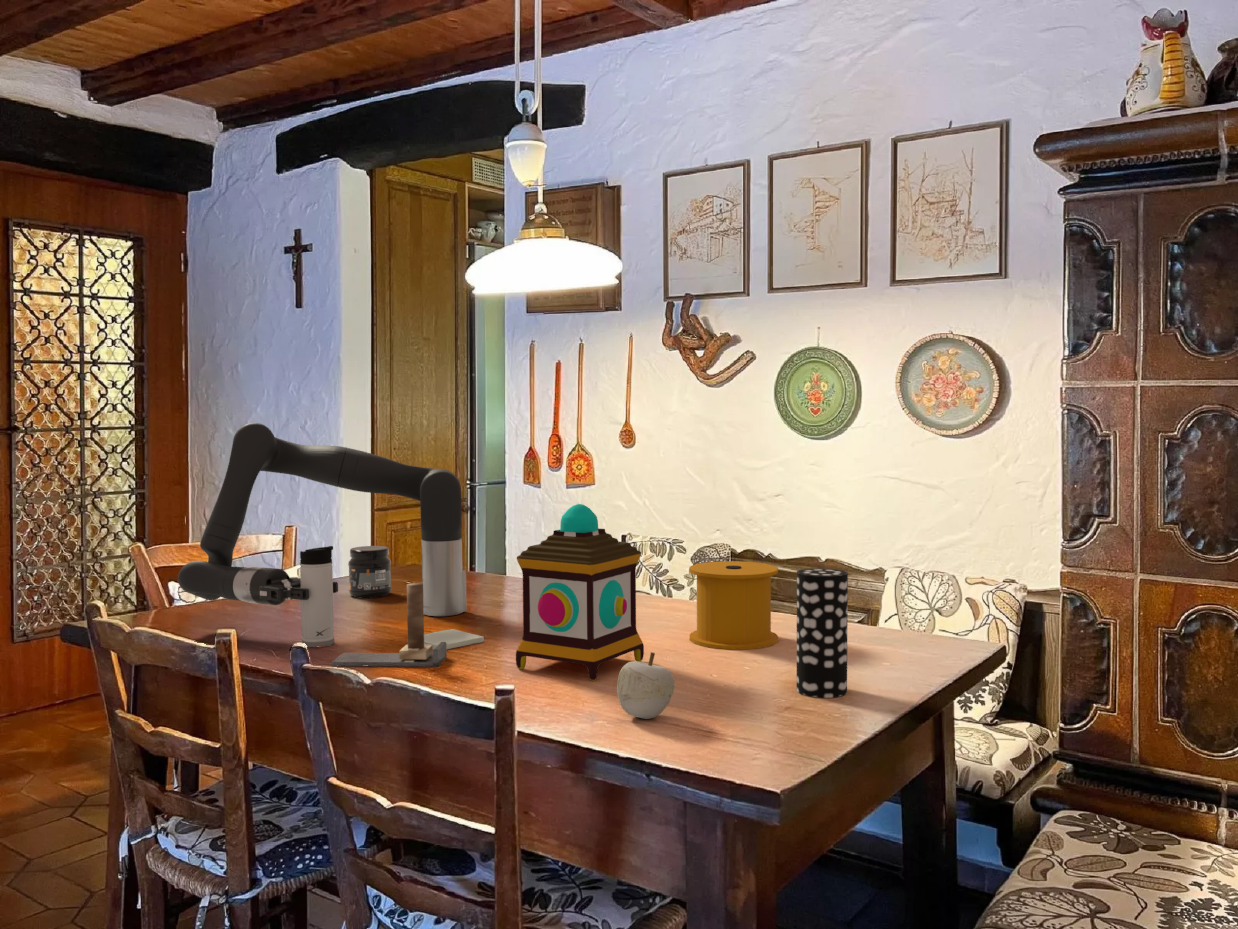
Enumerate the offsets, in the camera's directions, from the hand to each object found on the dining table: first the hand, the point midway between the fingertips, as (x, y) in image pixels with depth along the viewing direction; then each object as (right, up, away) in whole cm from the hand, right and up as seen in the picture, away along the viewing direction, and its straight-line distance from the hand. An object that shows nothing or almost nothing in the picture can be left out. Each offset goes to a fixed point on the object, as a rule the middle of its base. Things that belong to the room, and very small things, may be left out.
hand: (322, 590), depth 211 cm
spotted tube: (+94, -13, -36) cm, 101 cm away
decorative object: (+64, -14, -50) cm, 82 cm away
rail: (+17, -12, -14) cm, 24 cm away
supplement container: (-4, -8, +56) cm, 57 cm away
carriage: (+22, -11, -14) cm, 28 cm away
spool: (+83, -10, +3) cm, 84 cm away
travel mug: (-1, -11, +1) cm, 11 cm away
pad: (+24, -11, +3) cm, 27 cm away
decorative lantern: (+53, -12, -17) cm, 57 cm away
